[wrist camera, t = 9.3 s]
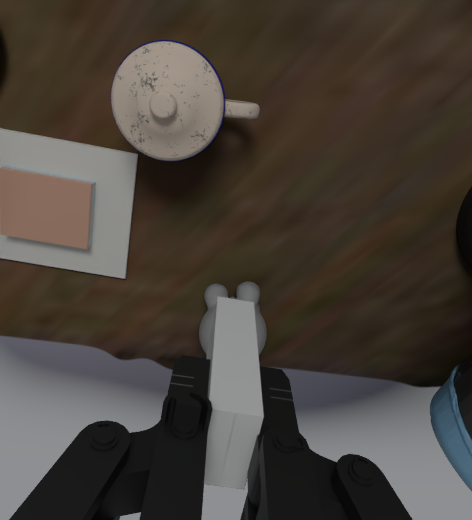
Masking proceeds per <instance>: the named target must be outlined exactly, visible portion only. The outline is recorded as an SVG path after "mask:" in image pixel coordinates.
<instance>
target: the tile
mask: <svg viewBox="0 0 472 520" xmlns="http://www.w3.org/2000/svg"><path fill="white" fill-rule="evenodd" d="M95 186H96V181H90V180H85V179H79V178H74V177H68V176H63V175H57V174H52V173H46V172H41V171H35V170H30V169H24V168H19V167H13V166H8V165H7V166H4V167H1V168H0V235H6V236H12V237H18V238H24V239H30V240H35V241H41V242H47V243H53V244H59V245H65V246H71V247H77V248H83V249H88V248H89V247H90V245H91V244H92V232H93V217H94V202H95Z"/></svg>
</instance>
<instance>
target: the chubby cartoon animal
mask: <svg viewBox="0 0 472 520" xmlns="http://www.w3.org/2000/svg"><path fill="white" fill-rule="evenodd" d="M218 296H219V297H225V298H228V292H227V289H226V288H225V287H224V286H223V285H220V284H211V285H209V286H208V287H207V288H206V290H205V293H204V297H205V302H206V304H207V307H208V311H207V312H206V313H205V315H204V317H203V318H202V321H201V324H200V329H199V338H200V343H201V346H202V348H203V350H204V352H205V353H206V355H207V350H208V344H209V339H210V334H211V329H212V323H213V318H214V313H215V308H216V302H217V297H218ZM236 296H237V298H235V297H231V299H237V300H243V301H249V302H254V310H255V322H256V333H257V345H258V356H259V354H260V353H261V351H262V350H263V348H264V345H265V342H266V337H267V330H266V324H265V321H264V319H263V317H262V315H261V313H260V312H259V311H260V308H259V304H258V301H259V298H260V289H259V287H258V285H256V284H255V283H253V282H243V283H241V284H240V285H239V286H238V287H237V291H236Z"/></svg>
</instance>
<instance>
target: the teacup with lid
mask: <svg viewBox="0 0 472 520" xmlns="http://www.w3.org/2000/svg"><path fill="white" fill-rule="evenodd" d="M111 106H112V112H113V116H114V119H115V122H116V124H117V126H118V128H119V130H120V132H121V133H122V135H123V136H124V138H125V139H126V140H127V141H128V142H129V143H130V144H131V145H132V146H133V147H134V148H135V149H136V150H138V151H139V152H141V153H142V154H144V155H146V156H148V157H150V158H153V159H156V160H160V161H167V162H176V161H183V160H187V159H190V158H192V157H194V156H196V155H198V154H200V153H201V152H203V151H204V150H205V149H206V148H207V147H208V146H210V144H211V143H212V142H213V141H214V139H215V138H216V137H217V135H218V133H219V131H220V129H221V126H222V123H223V120H224V117H231V118H241V119H256V118H257V117H258V116H259V109H260V108H259V106H258V105H257V104H255V103H250V102H243V101H235V100H227V99H225V93H224V89H223V85H222V82H221V79H220V77H219V75H218V73H217V71H216V69H215V68H214V67H213V65H212V64H211V63H210V61H209V60H208V59H207V58H206V57H205V56H204V55H203V54H201V53H200V52H199V51H197V50H196V49H194V48H193V47H191V46H189V45H187V44H184V43H181V42H178V41H172V40H158V41H152V42H149V43H146V44H144V45H141V46H140V47H138V48H136V49H135V50H133V51H132V52H131V53H130V54H128V55H127V57H126V58H125V59H124V60H123V61H122V63H121V64H120V66H119V67H118V69H117V71H116V74H115V76H114V79H113V83H112V88H111Z"/></svg>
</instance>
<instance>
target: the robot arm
mask: <svg viewBox="0 0 472 520" xmlns="http://www.w3.org/2000/svg"><path fill="white" fill-rule="evenodd" d="M457 237H458V243H459V247H460V250H461V252H462V254H463V256H464V258H465V259H466V261H467V262H468V263H469V264H470V265H471V266H472V188H471V189H470V191H469V192H468V194H467V196H466V198H465V200H464V202H463V204H462V207H461V210H460V213H459V217H458V223H457ZM430 415H431V423H432V427H433V430H434V433H435V436H436V438H437V440H438V442H439V444H440V446H441V448H442V450H443V452H444V454H445V455H446V457H447V459H448V460H449V462H450V463H451V465H452V466H453V468H454V469H455V471H456V472H457V473H458V475H459V476H460V477H461V479H462V480H463V481H464V483H465V484H466V485H467V486H468V487H469V489H470V490H471V491H472V354H471V355H470V356H469V357H468V358H467V359H466V360H465V361H464V362H463V363H462V364H459V365H458V366H456V367H455V368H454V369H453V370H452V372H451V375H450V377H449V378H448V380H447V381H446V382H445V383H444V384H443V385H442V386H441V388H440V389H439V390H438V391H437V392H436V394H435V395H434V397H433V399H432V401H431V404H430ZM247 478H248V493H247V497H246V501H245V504H244V508H243V512H242V516H241V520H412V518H411V517H410V515H409V514H408V512H407V510H406V509H405V507H404V506H403V504H402V502H401V501H400V499H399V498H398V496H397V495H396V493H395V491H394V490H393V488H392V487H391V485H390V484H389V482H388V480H387V479H386V477H385V476H384V474H383V473H382V472H381V470H380V469H379V468H378V467H377V466H376V465H375V464H374V463H373V462H371V461H370V460H369V459H367V458H365V457H362V456H360V455H353V454H348V455H344V456H342V457H341V458H340V459H339V460H338V462H334V461H332V460H329V459H327V458H325V457H322V456H320V455H318V454H316V453H315V452H313V451H312V450H311V449H309V446H308V444H307V441H306V439H305V438H304V437H303V436H302V435H301V434H300V433H299V430H298V425H297V419H296V414H295V408H294V403H293V397H292V392H291V386H290V382H289V379H288V377H287V376H286V375H285V373H284V372H283V371H282V370H281V369H275V368H268V367H262V366H259V356H258V345H257V333H256V322H255V310H254V302H249V301H243V300H237V299H231V298H225V297H219V296H218V297H217V302H216V308H215V313H214V318H213V323H212V329H211V334H210V339H209V344H208V350H207V357H206V359H204V358H197V357H191V356H184V355H182V356H181V357H180V358H179V359H178V360H177V361H176V362H175V363H174V367H173V372H172V377H171V381H170V386H169V390H168V395H167V396H166V398H165V400H164V402H163V409H162V415H161V420H160V421H159V423H158V424H156V425H155V426H154V427H152V428H150V429H147V430H144V431H140V432H132V433H129V432H128V430H127V429H126V428H125V427H124V426H123V425H121V424H119V423H117V422H113V421H98V422H95V423H93V424H90V425H88V426H87V427H85V428H84V429H83V430H82V431H81V432H80V433H79V434H78V436H77V437H76V438H75V439H74V441H73V442H72V443H71V444H70V445H69V447H68V448H67V449H66V450H65V452H64V453H63V454H62V455H61V457H60V458H59V459H58V460H57V462H56V463H55V464H54V465H53V466H52V468H51V469H50V470H49V471H48V473H47V474H46V475H45V476H44V477H43V479H42V480H41V481H40V482H39V484H38V485H37V486H36V487H35V489H34V490H33V491H32V492H31V494H30V495H29V496H28V497H27V498H26V500H25V501H24V502H23V503H22V505H21V506H20V507H19V508H18V510H17V511H16V512H15V513H14V515H13V516H12V517H11V518H10V519H9V520H119V519H120V516H123V515H128V514H133V513H139V512H141V516H140V520H201V516H202V503H203V488H204V484H207V485H214V486H221V487H229V488H236V489H245V485H246V482H247Z"/></svg>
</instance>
